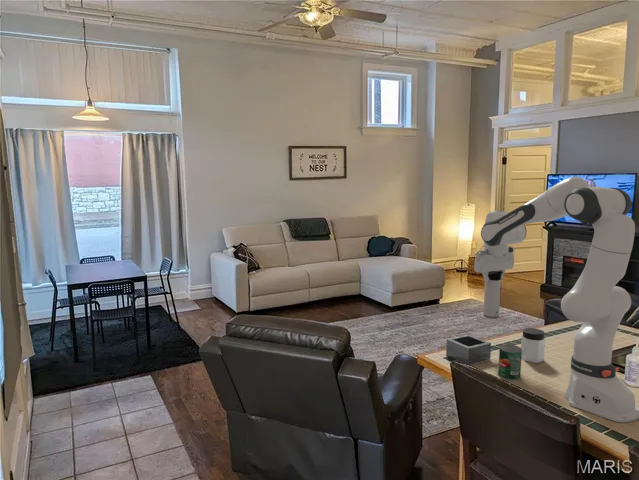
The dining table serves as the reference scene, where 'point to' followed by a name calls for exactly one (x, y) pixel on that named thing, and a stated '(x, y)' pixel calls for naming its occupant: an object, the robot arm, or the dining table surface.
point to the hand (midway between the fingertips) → (493, 280)
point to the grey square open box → (468, 349)
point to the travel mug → (492, 295)
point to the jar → (533, 345)
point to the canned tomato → (509, 362)
